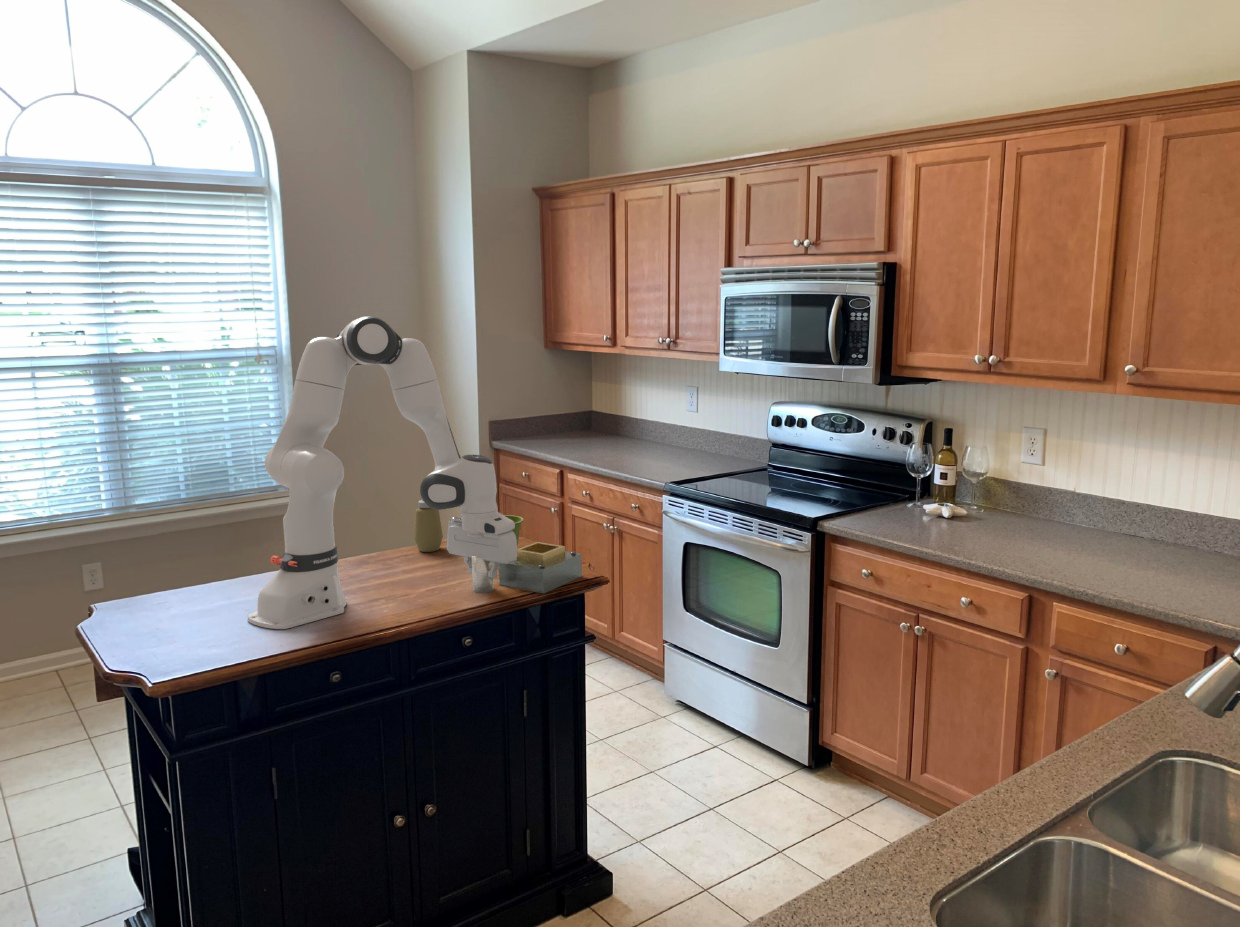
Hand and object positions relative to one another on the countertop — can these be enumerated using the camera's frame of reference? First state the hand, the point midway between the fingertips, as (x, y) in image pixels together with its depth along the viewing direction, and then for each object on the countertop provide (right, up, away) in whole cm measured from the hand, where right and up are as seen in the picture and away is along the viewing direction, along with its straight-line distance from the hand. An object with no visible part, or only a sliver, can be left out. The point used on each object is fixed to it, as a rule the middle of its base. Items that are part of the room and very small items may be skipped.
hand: (482, 575), depth 234 cm
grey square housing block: (+14, -2, +7) cm, 16 cm away
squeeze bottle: (-21, +3, +38) cm, 43 cm away
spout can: (0, -4, +1) cm, 4 cm away
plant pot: (+2, +1, +27) cm, 27 cm away
